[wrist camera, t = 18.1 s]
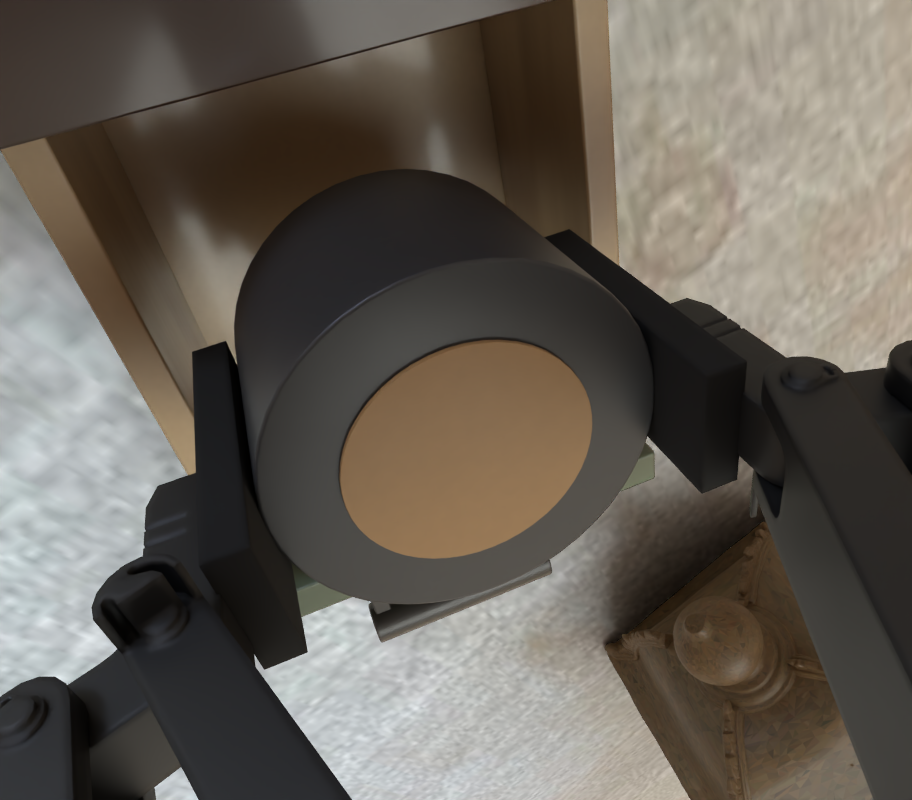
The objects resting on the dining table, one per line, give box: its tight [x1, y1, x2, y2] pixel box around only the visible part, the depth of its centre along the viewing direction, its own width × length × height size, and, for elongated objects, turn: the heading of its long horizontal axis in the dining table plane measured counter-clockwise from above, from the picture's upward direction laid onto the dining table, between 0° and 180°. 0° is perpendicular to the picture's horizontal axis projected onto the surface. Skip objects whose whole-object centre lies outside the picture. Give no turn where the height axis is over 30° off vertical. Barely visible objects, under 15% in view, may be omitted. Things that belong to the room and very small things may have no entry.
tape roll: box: [234, 169, 655, 604], centre depth 15 cm, size 8×8×5 cm
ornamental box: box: [605, 521, 873, 800], centre depth 39 cm, size 35×18×18 cm, turn 41°
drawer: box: [1, 0, 655, 642], centre depth 20 cm, size 24×14×7 cm, turn 11°
